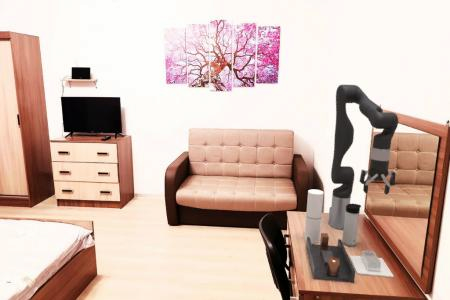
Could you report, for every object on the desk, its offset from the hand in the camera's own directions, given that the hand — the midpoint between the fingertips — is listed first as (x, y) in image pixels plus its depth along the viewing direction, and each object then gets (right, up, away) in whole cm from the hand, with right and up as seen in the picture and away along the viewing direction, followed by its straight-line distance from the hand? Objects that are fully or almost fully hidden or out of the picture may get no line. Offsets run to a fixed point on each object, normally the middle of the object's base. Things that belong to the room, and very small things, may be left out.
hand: (375, 193), depth 146 cm
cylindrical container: (-25, -25, +15) cm, 38 cm away
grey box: (-6, -30, -7) cm, 31 cm away
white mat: (-6, -30, -7) cm, 32 cm away
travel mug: (-7, -26, +12) cm, 30 cm away
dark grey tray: (-23, -29, -5) cm, 38 cm away
